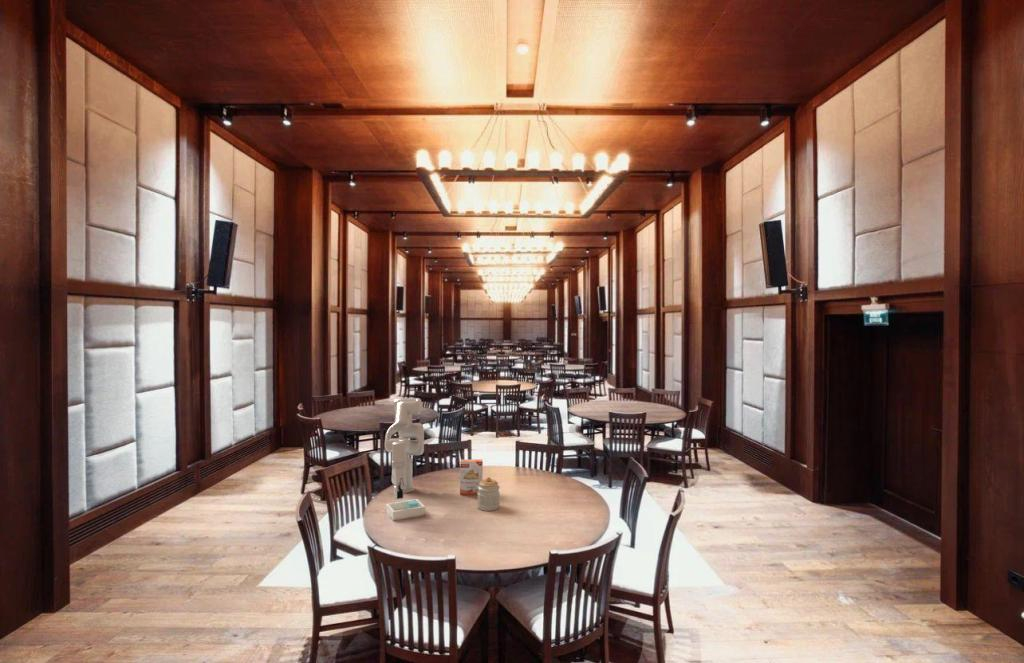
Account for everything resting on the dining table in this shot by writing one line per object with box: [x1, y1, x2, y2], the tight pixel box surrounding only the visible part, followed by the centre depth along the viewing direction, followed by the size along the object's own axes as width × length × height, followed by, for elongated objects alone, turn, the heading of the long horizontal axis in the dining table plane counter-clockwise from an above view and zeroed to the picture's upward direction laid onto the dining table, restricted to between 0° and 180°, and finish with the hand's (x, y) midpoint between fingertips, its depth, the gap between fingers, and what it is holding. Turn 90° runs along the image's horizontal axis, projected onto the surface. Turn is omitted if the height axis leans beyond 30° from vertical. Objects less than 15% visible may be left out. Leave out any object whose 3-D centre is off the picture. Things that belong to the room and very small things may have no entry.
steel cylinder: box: [393, 484, 404, 501], centre depth 294 cm, size 5×5×7 cm
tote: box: [385, 498, 426, 522], centre depth 297 cm, size 14×18×5 cm
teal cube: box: [407, 499, 418, 509], centre depth 299 cm, size 5×5×5 cm
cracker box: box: [459, 458, 484, 496], centre depth 333 cm, size 14×6×21 cm, turn 96°
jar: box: [476, 476, 501, 512], centre depth 309 cm, size 13×13×18 cm
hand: (398, 496), depth 294 cm, fingers closed on steel cylinder, 4 cm apart
